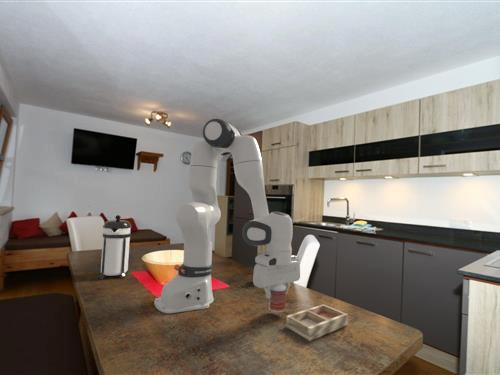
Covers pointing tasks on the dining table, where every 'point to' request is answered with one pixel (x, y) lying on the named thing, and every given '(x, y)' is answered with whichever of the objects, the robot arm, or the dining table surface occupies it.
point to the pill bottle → (277, 297)
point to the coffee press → (115, 248)
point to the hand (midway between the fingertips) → (276, 296)
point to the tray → (316, 321)
